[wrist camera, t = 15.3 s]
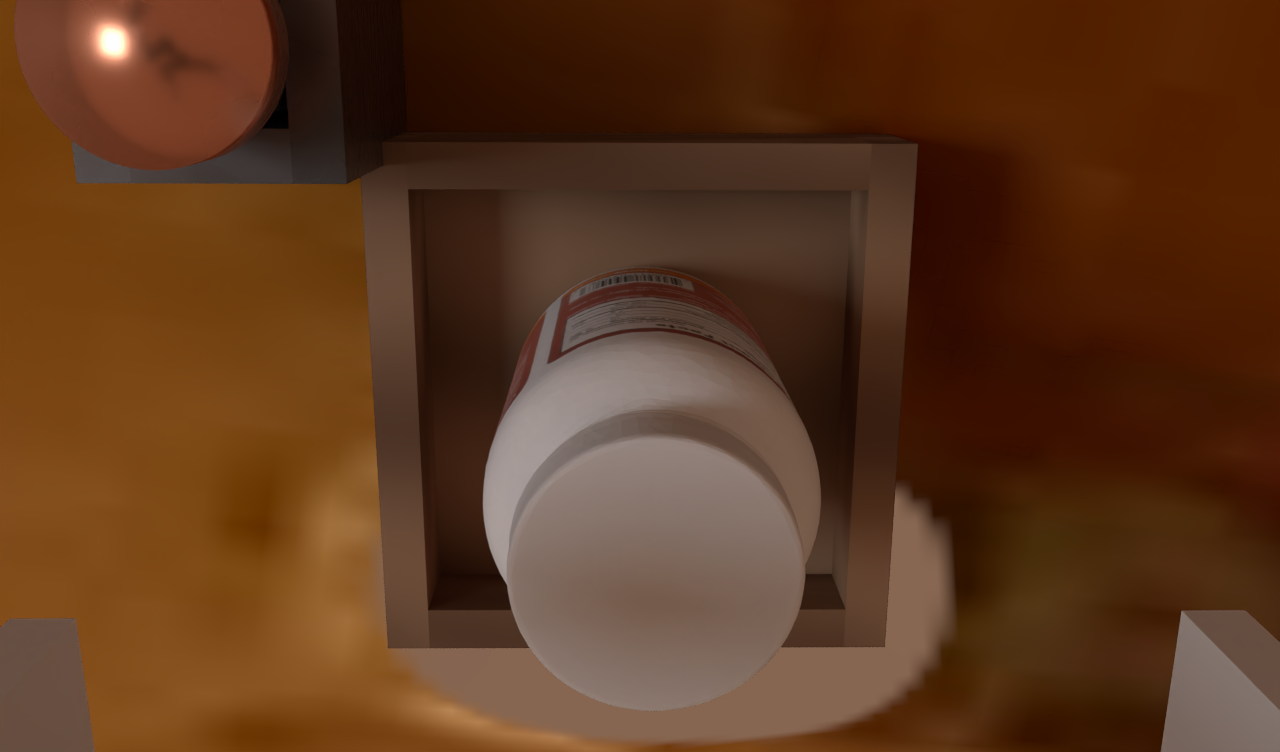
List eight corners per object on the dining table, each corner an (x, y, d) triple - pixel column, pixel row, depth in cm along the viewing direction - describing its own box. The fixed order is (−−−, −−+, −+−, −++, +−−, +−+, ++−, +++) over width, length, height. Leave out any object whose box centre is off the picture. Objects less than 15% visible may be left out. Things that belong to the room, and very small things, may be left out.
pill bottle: (639, 551, 30) (648, 828, 19) (463, 384, 29) (370, 581, 18) (822, 387, 29) (938, 584, 18) (647, 206, 28) (662, 304, 17)
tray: (386, 132, 28) (358, 142, 25) (888, 134, 28) (917, 144, 26) (409, 592, 31) (388, 648, 29) (860, 591, 32) (884, 646, 29)
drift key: (169, -54, 25) (-3, -93, 18) (358, -53, 25) (258, -91, 18) (187, 137, 26) (32, 170, 19) (368, 138, 26) (278, 170, 19)
